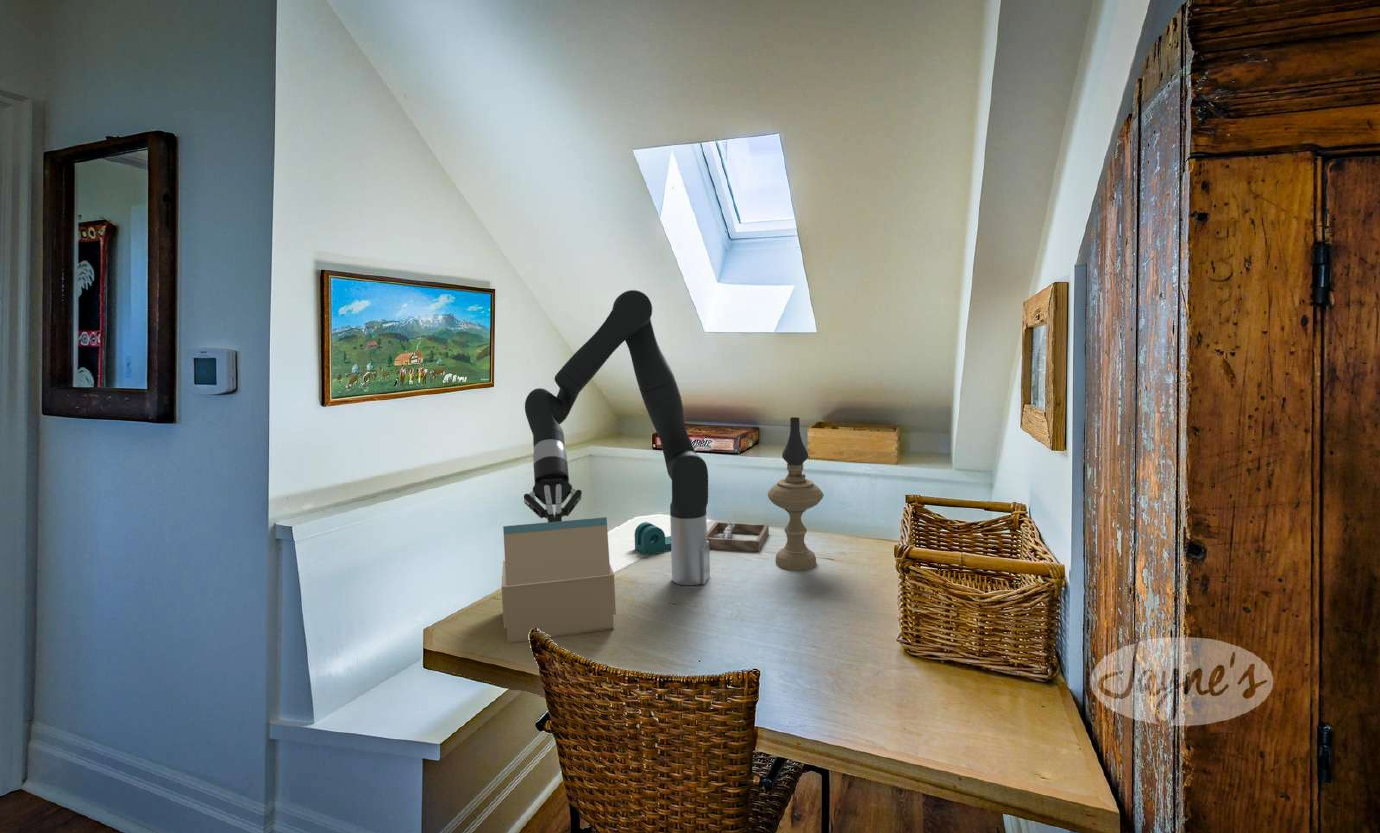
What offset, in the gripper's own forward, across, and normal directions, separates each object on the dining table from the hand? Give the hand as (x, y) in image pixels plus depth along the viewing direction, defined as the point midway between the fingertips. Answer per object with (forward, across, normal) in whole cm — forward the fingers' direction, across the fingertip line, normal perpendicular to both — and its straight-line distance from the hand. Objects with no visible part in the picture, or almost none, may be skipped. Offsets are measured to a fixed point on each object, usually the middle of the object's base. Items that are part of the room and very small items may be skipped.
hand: (555, 532), depth 140 cm
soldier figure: (-20, +53, +52) cm, 77 cm away
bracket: (-19, +34, +52) cm, 65 cm away
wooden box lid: (+3, 0, +1) cm, 4 cm away
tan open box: (+11, 0, +20) cm, 23 cm away
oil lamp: (-2, +65, +33) cm, 73 cm away
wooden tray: (-19, +56, +51) cm, 78 cm away
